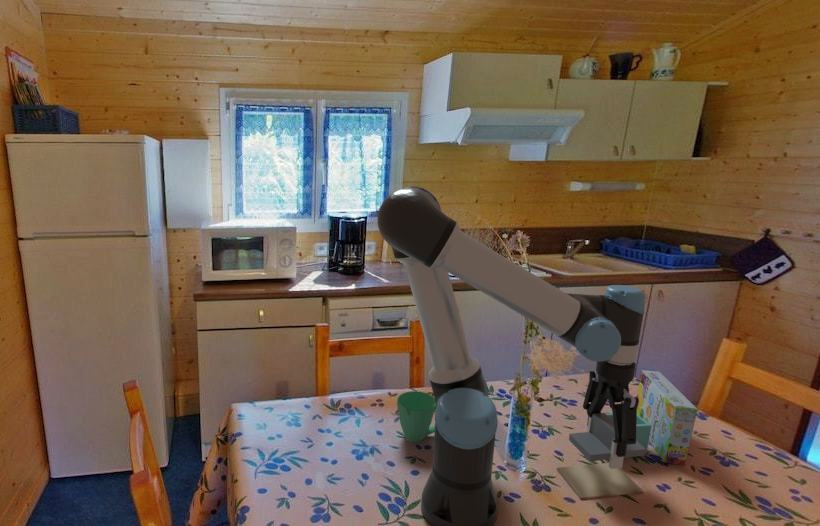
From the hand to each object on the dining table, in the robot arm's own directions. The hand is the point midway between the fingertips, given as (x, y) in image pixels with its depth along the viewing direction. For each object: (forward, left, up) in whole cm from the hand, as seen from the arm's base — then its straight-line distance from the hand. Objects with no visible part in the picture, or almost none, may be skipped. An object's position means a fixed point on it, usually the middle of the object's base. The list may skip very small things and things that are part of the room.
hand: (603, 454), depth 104 cm
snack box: (+25, +13, -7) cm, 29 cm away
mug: (-35, +22, -7) cm, 42 cm away
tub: (+12, +11, -6) cm, 17 cm away
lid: (+1, 0, +2) cm, 2 cm away
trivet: (0, 0, -6) cm, 6 cm away
